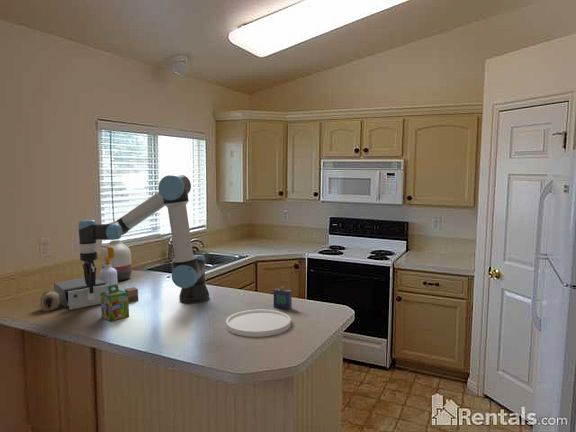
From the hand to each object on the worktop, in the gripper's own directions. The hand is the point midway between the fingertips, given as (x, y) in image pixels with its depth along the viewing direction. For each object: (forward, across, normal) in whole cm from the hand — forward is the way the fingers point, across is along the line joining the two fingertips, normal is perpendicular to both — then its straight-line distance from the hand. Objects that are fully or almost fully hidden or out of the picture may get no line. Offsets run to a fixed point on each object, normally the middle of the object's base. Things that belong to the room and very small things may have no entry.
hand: (91, 299), depth 214 cm
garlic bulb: (+4, +10, +15) cm, 19 cm away
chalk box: (+4, -22, -3) cm, 23 cm away
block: (+4, -2, -19) cm, 20 cm away
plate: (+5, -74, -46) cm, 87 cm away
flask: (+4, -65, -68) cm, 94 cm away
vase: (+4, +48, -30) cm, 57 cm away
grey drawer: (+4, +11, 0) cm, 12 cm away
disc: (-1, +10, 0) cm, 10 cm away
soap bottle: (+4, +28, -18) cm, 33 cm away
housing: (+4, +18, 0) cm, 18 cm away
